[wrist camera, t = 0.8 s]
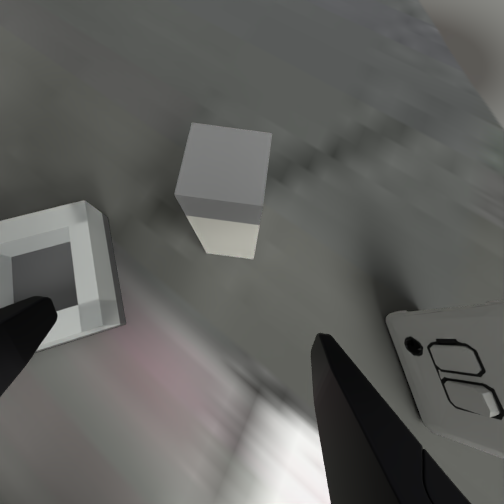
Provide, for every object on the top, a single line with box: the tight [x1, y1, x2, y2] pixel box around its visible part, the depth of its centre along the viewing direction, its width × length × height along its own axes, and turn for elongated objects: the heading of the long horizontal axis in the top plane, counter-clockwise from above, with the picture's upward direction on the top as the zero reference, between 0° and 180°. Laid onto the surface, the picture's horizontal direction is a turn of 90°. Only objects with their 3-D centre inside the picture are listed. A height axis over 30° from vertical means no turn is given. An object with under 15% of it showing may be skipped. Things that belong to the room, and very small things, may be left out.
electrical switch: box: [386, 300, 504, 459], centre depth 16 cm, size 9×5×9 cm, turn 13°
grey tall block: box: [174, 123, 272, 259], centre depth 18 cm, size 4×4×11 cm
